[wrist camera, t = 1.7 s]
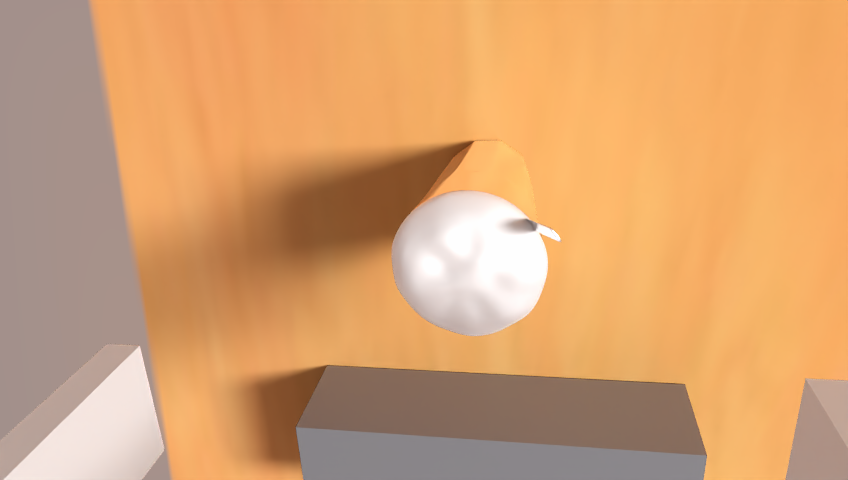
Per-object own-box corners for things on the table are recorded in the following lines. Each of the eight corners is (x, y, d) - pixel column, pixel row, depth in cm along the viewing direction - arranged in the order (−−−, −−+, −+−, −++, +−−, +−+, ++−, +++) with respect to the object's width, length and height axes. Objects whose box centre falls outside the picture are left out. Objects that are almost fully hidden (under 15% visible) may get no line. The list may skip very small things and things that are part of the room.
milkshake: (588, 178, 27) (608, 302, 18) (478, 251, 29) (446, 395, 20) (518, 85, 26) (503, 165, 17) (409, 166, 28) (343, 277, 19)
